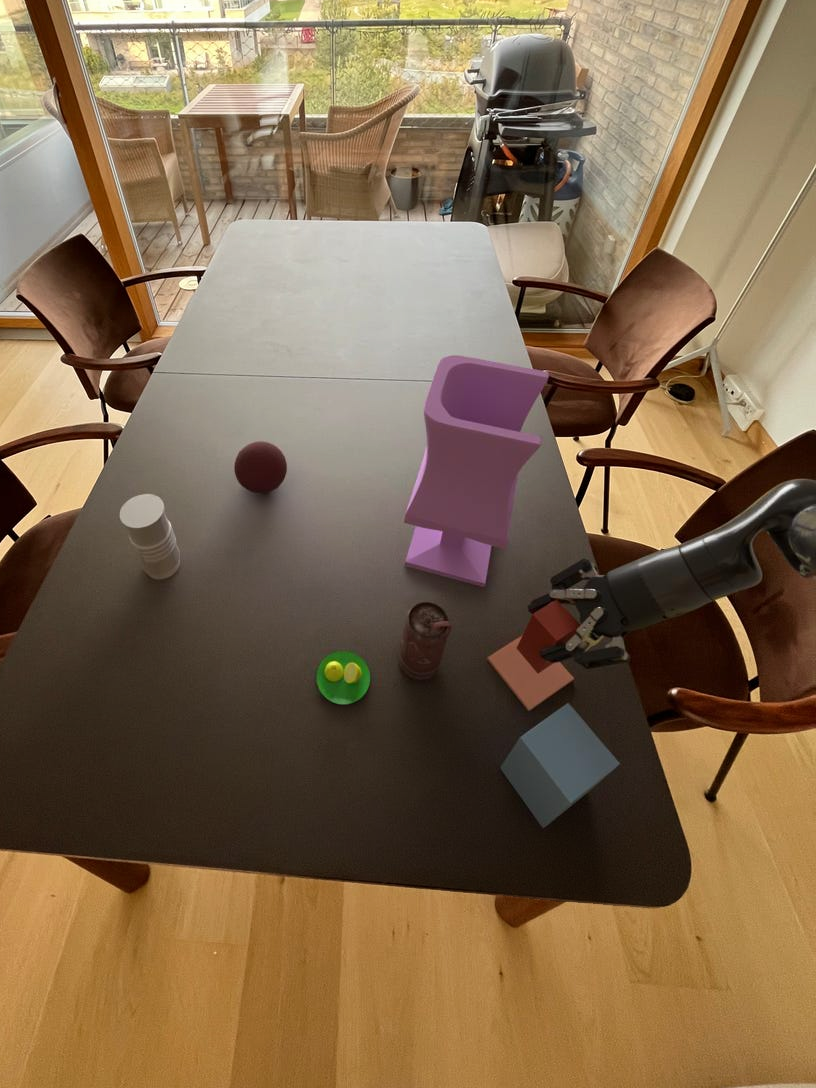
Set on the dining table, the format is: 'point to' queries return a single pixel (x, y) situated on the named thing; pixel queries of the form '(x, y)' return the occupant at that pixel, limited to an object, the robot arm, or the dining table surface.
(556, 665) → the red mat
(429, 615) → the brown drink cup
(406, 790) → the dining table surface
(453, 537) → the vase
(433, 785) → the dining table surface
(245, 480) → the decorative ball
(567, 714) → the blue stand
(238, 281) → the dining table surface
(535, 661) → the red post
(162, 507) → the white ridged cylinder
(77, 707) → the dining table surface
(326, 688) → the green plate with lemons
